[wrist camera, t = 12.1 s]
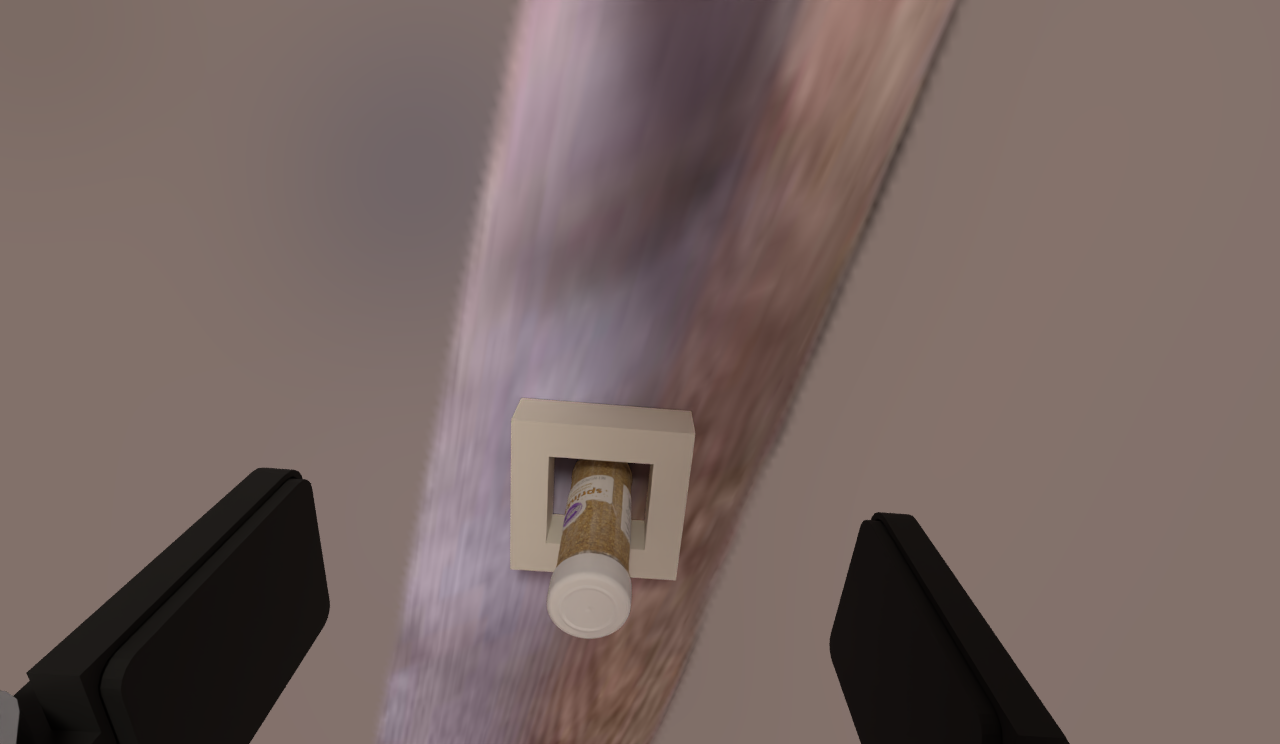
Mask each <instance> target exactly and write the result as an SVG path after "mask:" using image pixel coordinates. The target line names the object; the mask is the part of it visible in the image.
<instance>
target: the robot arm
mask: <svg viewBox="0 0 1280 744" xmlns="http://www.w3.org/2000/svg"><path fill="white" fill-rule="evenodd" d="M329 608H330V601H329V594H328V588H327V581H326V575H325V568H324V562H323V556H322V549H321V543H320V536H319V530H318V523H317V517H316V510H315V504H314V498H313V491H312V486H311V483H310V482H309V481H308V480H305V479H302V476H301V474H300V473H299V472H298V471H296V470H289V469H275V468H258V469H256V470H254V471H253V472H252V473H251V474H249V475H248V476H247V477H246V478H245V479H244V480H243V481H242V482H240V483H239V484H238V485H237V486H236V487H235V488H234V489H233V490H232V491H231V492H229V493H228V494H227V495H226V496H225V497H224V498H222V499H221V500H220V501H219V502H218V503H217V504H216V505H215V506H214V507H212V508H211V509H210V510H209V511H208V512H207V513H206V514H204V515H203V516H202V517H201V518H200V519H199V520H198V521H197V522H196V523H194V524H193V525H192V526H191V527H190V528H189V529H188V530H187V531H185V532H184V533H183V534H182V535H181V536H180V537H179V538H178V539H177V540H175V541H174V542H173V543H172V544H171V545H170V546H169V547H167V548H166V549H165V550H164V551H163V552H162V553H161V554H160V555H158V556H157V557H156V558H155V559H154V560H153V561H152V562H151V563H149V564H148V565H147V566H146V567H145V568H144V569H143V570H142V571H141V572H139V573H138V574H137V575H136V576H135V577H134V578H133V579H131V580H130V581H129V582H128V583H127V584H126V585H125V586H124V587H122V588H121V589H120V590H119V591H118V592H117V593H116V594H115V595H113V596H112V597H111V598H110V599H109V600H108V601H107V602H106V603H105V604H103V605H102V606H101V607H100V608H99V609H98V610H97V611H95V612H94V613H93V614H92V615H91V616H90V617H89V618H88V619H86V620H85V621H84V622H83V623H82V624H81V625H80V626H79V627H78V628H76V629H75V630H74V631H73V632H72V633H71V634H70V635H68V636H67V637H66V638H65V639H64V640H63V641H62V642H61V643H59V644H58V645H57V646H56V647H55V648H54V649H53V650H52V651H50V652H49V653H48V654H47V655H46V656H45V657H44V658H43V659H41V660H40V661H39V662H38V663H37V664H36V665H35V666H34V667H33V668H31V669H30V670H29V671H28V672H27V675H28V678H29V680H30V681H29V682H28V683H27V684H26V685H25V686H24V687H23V688H21V690H19V691H18V692H17V693H16V694H15V695H14V696H12V695H10V694H9V693H8V692H6V691H1V690H0V744H249V743H250V741H251V740H252V739H253V737H254V735H255V734H256V732H257V731H258V729H259V728H260V726H261V724H262V723H263V721H264V720H265V718H266V717H267V715H268V713H269V712H270V710H271V709H272V707H273V705H274V704H275V702H276V701H277V699H278V698H279V696H280V694H281V693H282V691H283V690H284V688H285V687H286V685H287V684H288V682H289V680H290V679H291V677H292V676H293V674H294V673H295V671H296V669H297V668H298V666H299V665H300V663H301V662H302V660H303V658H304V657H305V655H306V653H307V652H308V651H309V649H310V647H311V646H312V644H313V643H314V641H315V639H316V638H317V636H318V635H319V633H320V632H321V630H322V628H323V627H324V625H325V623H326V620H327V618H328V614H329ZM830 654H831V659H832V662H833V665H834V668H835V671H836V673H837V676H838V679H839V682H840V685H841V688H842V691H843V693H844V696H845V699H846V702H847V705H848V707H849V710H850V713H851V716H852V719H853V722H854V725H855V727H856V731H857V733H858V736H859V739H860V742H861V744H1069V742H1068V741H1067V739H1066V737H1065V735H1064V734H1063V732H1062V731H1061V729H1060V728H1059V727H1058V725H1057V724H1056V722H1055V721H1054V719H1053V718H1052V716H1051V715H1050V713H1049V712H1048V711H1047V709H1046V708H1045V706H1044V705H1043V703H1042V702H1041V700H1040V699H1039V697H1038V696H1037V695H1036V693H1035V692H1034V690H1033V689H1032V687H1031V686H1030V684H1029V683H1028V681H1027V680H1026V679H1025V677H1024V676H1023V674H1022V673H1021V671H1020V670H1019V669H1018V667H1017V666H1016V664H1015V663H1014V661H1013V660H1012V658H1011V657H1010V655H1009V654H1008V652H1007V651H1006V650H1005V648H1004V647H1003V645H1002V644H1001V642H1000V641H999V639H998V638H997V636H996V635H995V634H994V632H993V631H992V629H991V628H990V626H989V625H988V624H987V622H986V621H985V619H984V618H983V616H982V615H981V613H980V612H979V610H978V609H977V607H976V606H975V605H974V603H973V602H972V600H971V599H970V597H969V596H968V595H967V593H966V591H965V590H964V589H963V587H962V586H961V584H960V583H959V582H958V580H957V578H956V577H955V575H954V574H953V573H952V571H951V570H950V568H949V567H948V565H947V564H946V563H945V561H944V560H943V558H942V557H941V555H940V554H939V552H938V551H937V550H936V548H935V546H934V545H933V544H932V542H931V541H930V539H929V538H928V536H927V535H926V534H925V532H924V531H923V529H922V528H921V526H920V525H919V523H918V522H917V520H916V519H915V518H914V517H913V516H911V515H907V514H895V513H880V512H878V513H875V514H874V515H873V516H872V518H871V520H865V521H863V522H862V524H861V527H860V530H859V533H858V537H857V541H856V544H855V548H854V552H853V555H852V559H851V563H850V566H849V570H848V573H847V577H846V581H845V584H844V588H843V592H842V595H841V599H840V603H839V607H838V610H837V614H836V617H835V621H834V625H833V628H832V632H831V636H830Z"/></svg>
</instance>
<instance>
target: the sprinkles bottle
mask: <svg viewBox="0 0 1280 744" xmlns="http://www.w3.org/2000/svg"><path fill="white" fill-rule="evenodd" d="M631 485H632V472H631V469H630V467H629V465H628V463H627V462H615V461H601V460H588V459H580V460H579V461H577V463H576V464H575V466H574V469H573V471H572V484H571V491H570V493H569V496H568V500H567V506H566V511H565V517H564V522H563V532H562V537H561V543H560V550H559V554H558V560H557V566H556V569H555V570H554V572H553V574H552V576H551V580H550V585H549V590H548V596H547V610H548V613H549V616H550V618H551V620H552V621H553V622H554V624H555V625H556V626H557V627H558V628H560V629H561V630H562V631H564V632H565V633H567V634H569V635H572V636H575V637H579V638H585V639H594V638H601V637H604V636H607V635H610V634H612V633H614V632H615V631H617V630H618V629H619V628H621V627H622V625H623V624H624V623H625V622H626V620H627V618H628V616H629V614H630V609H631V597H632V583H631V579H630V575H629V558H630V557H629V555H630V548H631V495H630V493H631V492H630V489H631Z"/></svg>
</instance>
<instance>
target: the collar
mask: <svg viewBox="0 0 1280 744" xmlns="http://www.w3.org/2000/svg"><path fill="white" fill-rule="evenodd" d="M694 441H695V429H694V423H693V418H692V413H691V411H685V410H672V409H659V408H646V407H633V406H620V405H607V404H594V403H581V402H568V401H555V400H542V399H530V398H521V400H520V402H519V404H518V406H517V408H516V411H515V413H514V415H513V417H512V419H511V547H510V569H515V570H530V571H544V572H554V570H555V569H556V566H557V560H558V554H559V550H560V543H561V537H562V532H563V522H564V517H565V515H560V514H553V495H554V468H555V457H561V458H575V459H588V460H601V461H615V462H628V463H642V464H650V471H649V480H648V490H647V500H646V509H645V519H644V520H631V548H630V555H629V557H630V558H629V575H630V577H632V578H646V579H661V580H675V581H676V576H677V568H678V561H679V553H680V546H681V538H682V531H683V523H684V516H685V508H686V501H687V493H688V486H689V478H690V471H691V463H692V456H693V449H694Z"/></svg>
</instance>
